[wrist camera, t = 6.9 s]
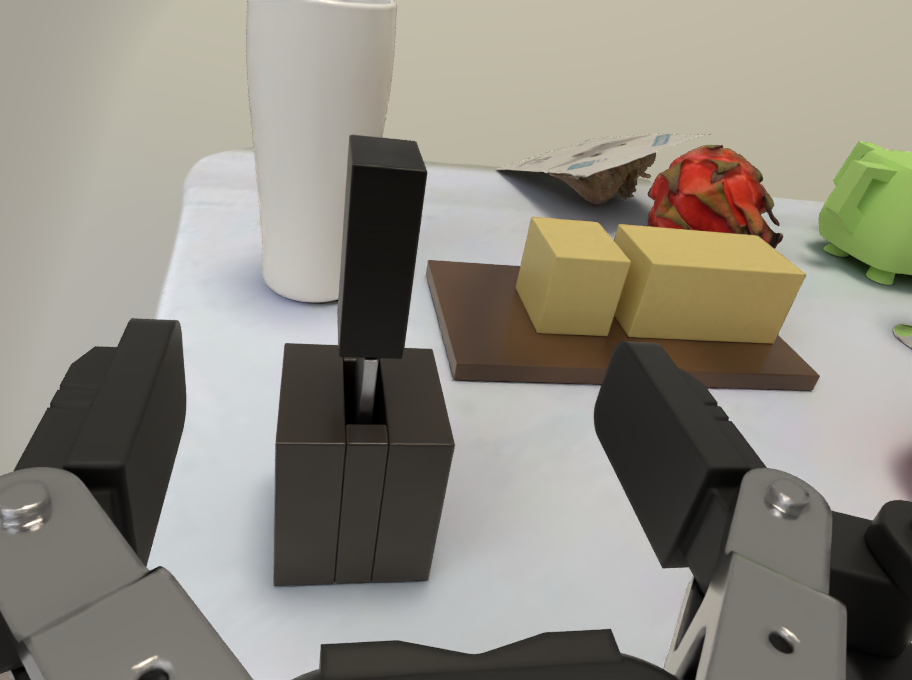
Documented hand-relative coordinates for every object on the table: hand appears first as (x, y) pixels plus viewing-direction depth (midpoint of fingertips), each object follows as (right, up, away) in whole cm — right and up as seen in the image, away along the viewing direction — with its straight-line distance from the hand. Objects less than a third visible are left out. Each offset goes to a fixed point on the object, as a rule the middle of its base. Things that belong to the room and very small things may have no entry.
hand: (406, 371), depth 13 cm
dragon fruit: (+19, +7, +38) cm, 43 cm away
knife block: (-3, -6, +11) cm, 13 cm away
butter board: (+10, +1, +27) cm, 28 cm away
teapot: (+35, +6, +43) cm, 56 cm away
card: (+15, +12, +45) cm, 48 cm away
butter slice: (+7, +2, +25) cm, 26 cm away
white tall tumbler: (-7, +4, +26) cm, 27 cm away
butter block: (+14, +2, +27) cm, 31 cm away
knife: (-3, -6, +11) cm, 13 cm away
